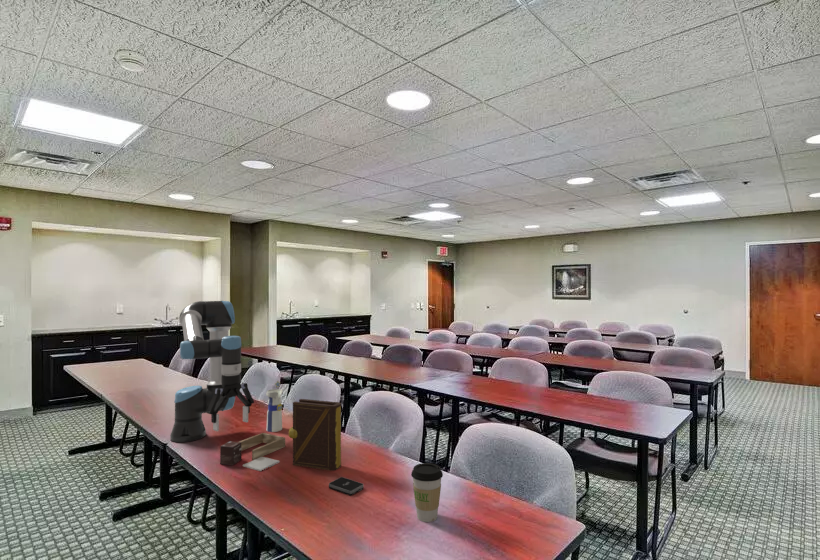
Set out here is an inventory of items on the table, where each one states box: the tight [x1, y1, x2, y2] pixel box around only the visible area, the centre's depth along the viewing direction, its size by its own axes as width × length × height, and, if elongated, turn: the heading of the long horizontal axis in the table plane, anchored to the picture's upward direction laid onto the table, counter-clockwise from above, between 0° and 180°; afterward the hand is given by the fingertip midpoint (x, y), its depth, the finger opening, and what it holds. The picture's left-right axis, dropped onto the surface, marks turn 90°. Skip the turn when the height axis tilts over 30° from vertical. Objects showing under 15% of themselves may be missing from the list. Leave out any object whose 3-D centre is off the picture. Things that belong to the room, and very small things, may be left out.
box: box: [219, 441, 242, 466], centre depth 182 cm, size 6×6×7 cm
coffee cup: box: [411, 462, 444, 523], centre depth 139 cm, size 10×10×15 cm
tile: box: [242, 456, 281, 472], centre depth 180 cm, size 10×10×1 cm
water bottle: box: [265, 380, 284, 433], centre depth 224 cm, size 8×9×25 cm
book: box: [288, 398, 342, 472], centre depth 180 cm, size 22×8×25 cm, turn 71°
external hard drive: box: [328, 476, 365, 497], centre depth 158 cm, size 7×11×2 cm, turn 55°
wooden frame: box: [239, 432, 286, 461], centre depth 195 cm, size 14×18×4 cm
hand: (231, 426), depth 183 cm, fingers open, 13 cm apart
